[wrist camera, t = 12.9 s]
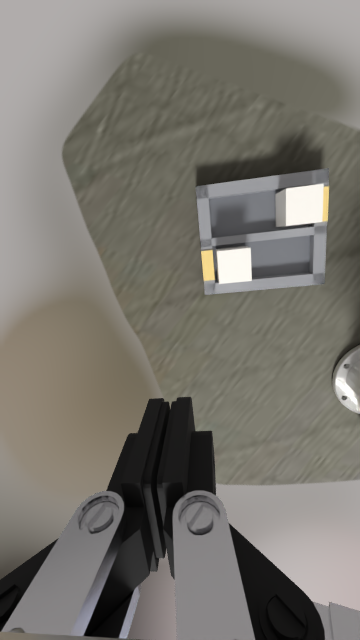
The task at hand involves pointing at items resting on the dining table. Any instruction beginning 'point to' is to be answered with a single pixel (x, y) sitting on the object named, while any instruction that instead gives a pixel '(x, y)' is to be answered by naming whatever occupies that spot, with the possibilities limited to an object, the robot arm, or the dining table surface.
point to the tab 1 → (234, 264)
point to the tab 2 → (299, 205)
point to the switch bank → (261, 232)
